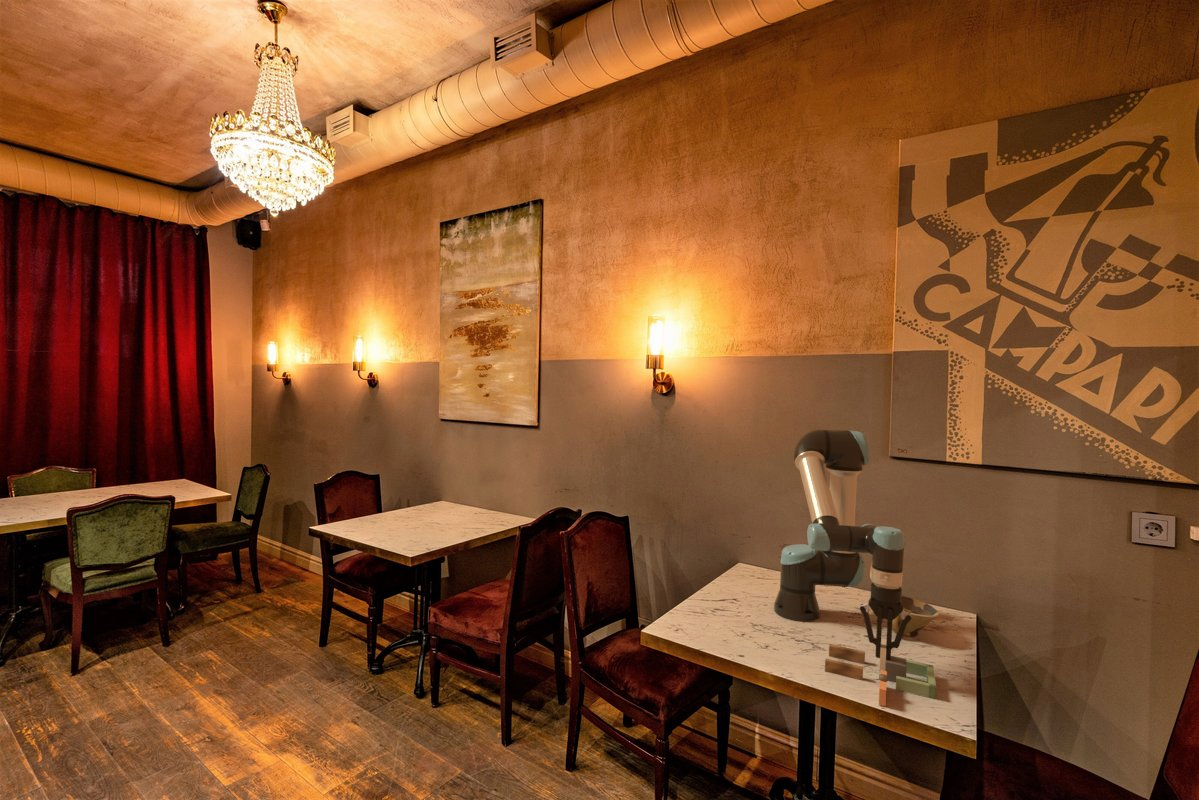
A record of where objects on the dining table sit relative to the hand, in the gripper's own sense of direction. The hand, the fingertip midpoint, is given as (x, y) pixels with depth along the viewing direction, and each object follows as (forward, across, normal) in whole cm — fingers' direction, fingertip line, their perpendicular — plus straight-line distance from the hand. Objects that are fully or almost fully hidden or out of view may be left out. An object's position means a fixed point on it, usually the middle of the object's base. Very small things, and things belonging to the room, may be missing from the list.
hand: (882, 669), depth 157 cm
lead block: (+2, +3, 0) cm, 4 cm away
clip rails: (+2, -9, 0) cm, 10 cm away
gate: (+2, 0, -12) cm, 12 cm away
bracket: (+2, +8, 0) cm, 8 cm away
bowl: (+2, +6, +36) cm, 37 cm away
